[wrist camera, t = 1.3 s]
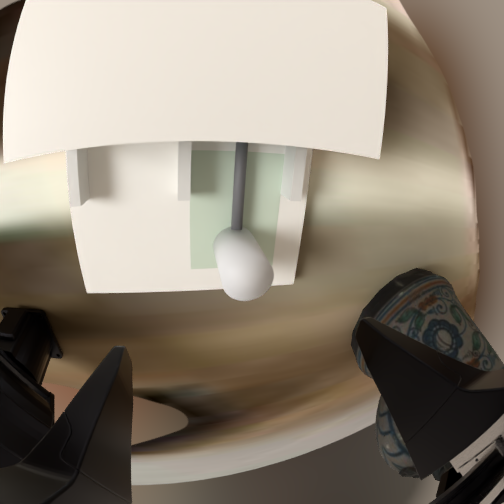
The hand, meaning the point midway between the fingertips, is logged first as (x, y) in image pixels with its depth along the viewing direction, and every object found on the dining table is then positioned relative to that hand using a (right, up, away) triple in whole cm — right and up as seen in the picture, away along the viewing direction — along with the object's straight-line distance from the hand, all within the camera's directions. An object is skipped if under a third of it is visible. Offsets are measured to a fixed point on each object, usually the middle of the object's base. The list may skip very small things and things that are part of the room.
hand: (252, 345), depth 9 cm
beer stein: (+19, -6, +24) cm, 31 cm away
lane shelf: (-5, +10, +9) cm, 14 cm away
